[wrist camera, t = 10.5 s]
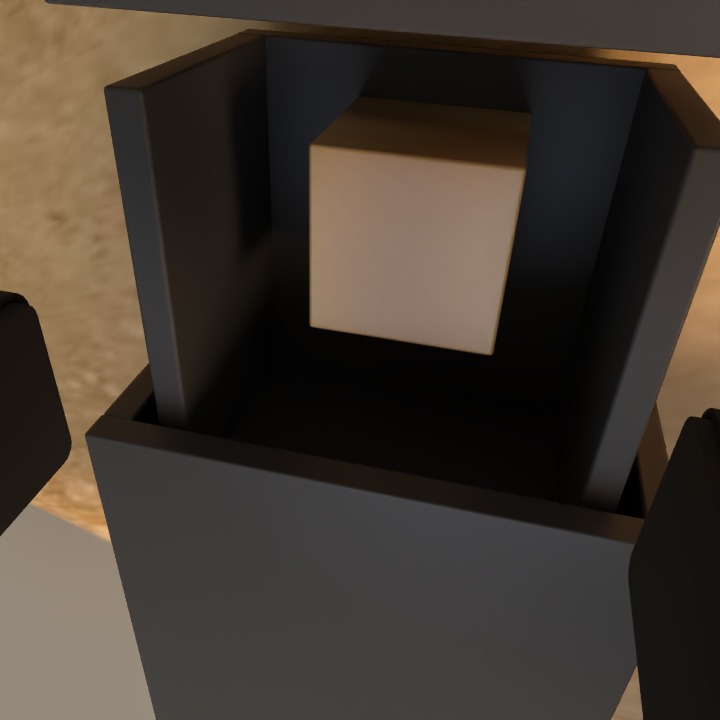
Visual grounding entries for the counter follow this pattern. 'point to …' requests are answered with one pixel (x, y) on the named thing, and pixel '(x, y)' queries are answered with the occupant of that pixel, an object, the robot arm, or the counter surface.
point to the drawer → (528, 258)
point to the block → (415, 221)
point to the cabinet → (361, 582)
